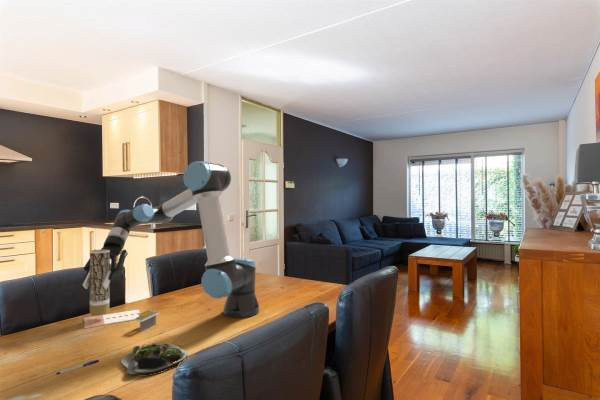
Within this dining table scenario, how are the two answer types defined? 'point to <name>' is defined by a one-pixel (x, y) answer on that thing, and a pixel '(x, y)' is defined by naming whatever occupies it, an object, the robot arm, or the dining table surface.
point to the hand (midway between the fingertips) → (94, 286)
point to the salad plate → (153, 358)
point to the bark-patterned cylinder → (99, 282)
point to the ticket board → (110, 318)
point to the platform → (147, 319)
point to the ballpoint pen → (79, 366)
